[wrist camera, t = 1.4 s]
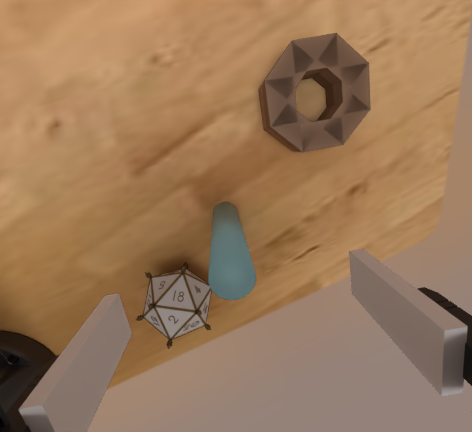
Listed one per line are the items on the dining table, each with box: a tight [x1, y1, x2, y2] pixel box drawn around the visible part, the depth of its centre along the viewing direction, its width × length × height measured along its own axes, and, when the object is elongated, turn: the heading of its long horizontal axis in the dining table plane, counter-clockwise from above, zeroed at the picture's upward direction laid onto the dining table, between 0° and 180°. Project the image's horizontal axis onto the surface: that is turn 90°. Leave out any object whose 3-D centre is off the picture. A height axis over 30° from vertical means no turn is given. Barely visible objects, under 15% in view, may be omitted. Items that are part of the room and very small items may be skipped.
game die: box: [136, 262, 212, 349], centre depth 30 cm, size 9×8×10 cm
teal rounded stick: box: [208, 202, 256, 300], centre depth 25 cm, size 3×3×16 cm
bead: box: [258, 33, 370, 152], centre depth 28 cm, size 10×10×4 cm
